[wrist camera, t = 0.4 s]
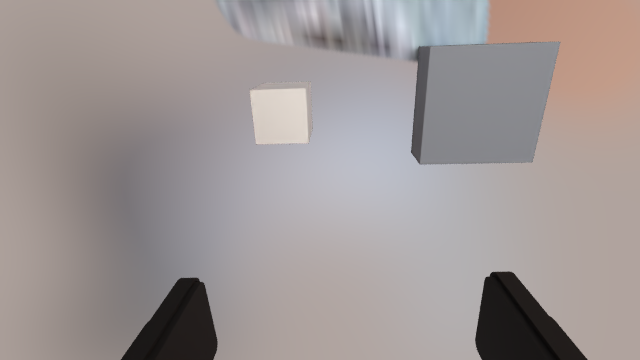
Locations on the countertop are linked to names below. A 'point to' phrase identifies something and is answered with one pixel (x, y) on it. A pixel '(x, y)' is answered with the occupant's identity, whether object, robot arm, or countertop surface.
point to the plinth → (481, 102)
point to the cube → (282, 112)
